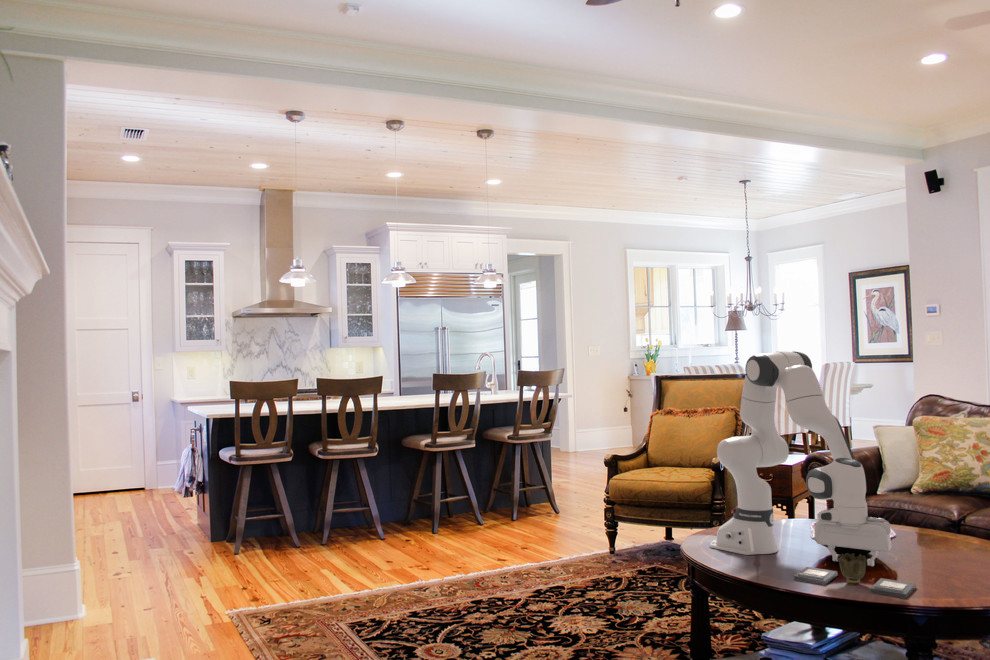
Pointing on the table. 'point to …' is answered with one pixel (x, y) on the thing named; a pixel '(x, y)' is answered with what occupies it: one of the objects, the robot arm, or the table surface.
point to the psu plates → (879, 587)
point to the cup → (852, 567)
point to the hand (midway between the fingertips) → (853, 563)
